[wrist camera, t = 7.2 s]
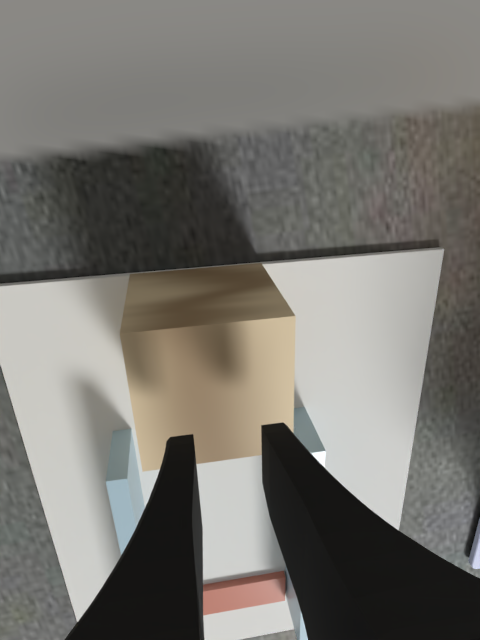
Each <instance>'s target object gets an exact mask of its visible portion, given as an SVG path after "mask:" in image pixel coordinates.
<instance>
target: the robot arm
mask: <svg viewBox="0 0 480 640" xmlns="http://www.w3.org/2000/svg"><path fill="white" fill-rule="evenodd" d="M261 443H262V484H263V488H264V493H265V498H266V502H267V507H268V511H269V516H270V519H271V522H272V526H273V529H274V532H275V534H276V537H277V540H278V543H279V546H280V549H281V552H282V555H283V558H284V561H285V564H286V567H287V570H288V573H289V576H290V579H291V582H292V585H293V588H294V590H295V593H296V596H297V600H298V603H299V606H300V610H301V613H302V617H303V621H304V625H305V629H306V633H307V637H308V640H480V578H478V577H475V576H473V575H472V574H470V573H468V572H466V571H464V570H462V569H460V568H459V567H457V566H455V565H453V564H452V563H450V562H448V561H446V560H444V559H443V558H441V557H439V556H438V555H436V554H434V553H433V552H431V551H429V550H428V549H426V548H425V547H423V546H422V545H420V544H418V543H417V542H415V541H414V540H412V539H411V538H409V537H408V536H406V535H405V534H403V533H401V532H400V531H399V530H397V529H396V528H394V527H393V526H392V525H390V524H389V523H387V522H386V521H385V520H383V519H382V518H381V517H380V516H378V515H377V514H376V513H374V512H373V511H372V510H371V509H369V508H368V507H367V506H366V505H365V504H363V503H362V502H361V501H360V500H359V499H357V498H356V497H355V496H354V495H353V494H352V493H351V492H350V491H348V490H347V489H346V488H345V487H344V486H343V485H342V484H341V483H340V482H339V481H338V480H337V479H336V478H334V477H333V476H332V475H331V474H330V473H329V472H328V471H327V470H326V469H325V467H324V466H323V465H322V464H321V463H320V462H319V461H318V460H317V459H316V458H315V457H314V456H313V455H312V454H311V453H310V452H309V451H308V450H307V448H306V447H305V446H304V445H303V444H302V443H301V442H300V440H299V439H298V438H297V437H296V436H295V435H294V433H293V432H292V431H291V430H290V429H289V427H288V426H287V425H286V424H285V423H283V422H282V423H274V424H266V425H261ZM469 563H470V565H471V566H472V568H474V569H480V519H479V523H478V526H477V530H476V534H475V538H474V541H473V545H472V549H471V553H470V557H469ZM65 640H205V639H204V621H203V527H202V517H201V507H200V496H199V486H198V475H197V465H196V455H195V445H194V436H193V434H189V435H181V436H174V437H170V438H169V439H168V440H167V441H166V448H165V453H164V457H163V461H162V464H161V467H160V470H159V474H158V477H157V479H156V482H155V484H154V487H153V490H152V492H151V495H150V498H149V500H148V502H147V505H146V507H145V509H144V511H143V513H142V516H141V518H140V520H139V522H138V524H137V527H136V529H135V531H134V533H133V535H132V537H131V539H130V540H129V542H128V544H127V546H126V548H125V550H124V551H123V553H122V555H121V557H120V559H119V560H118V562H117V564H116V566H115V567H114V569H113V570H112V572H111V574H110V575H109V577H108V578H107V580H106V582H105V583H104V585H103V586H102V588H101V590H100V591H99V593H98V594H97V596H96V597H95V599H94V600H93V602H92V603H91V604H90V606H89V607H88V609H87V610H86V611H85V613H84V614H83V615H82V617H81V618H80V620H79V621H78V622H77V624H76V625H75V626H74V628H73V629H72V630H71V632H70V633H69V635H68V636H67V637H66V639H65Z"/></svg>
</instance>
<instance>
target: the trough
mask: <svg viewBox="0 0 480 640" xmlns="http://www.w3.org/2000/svg"><path fill="white" fill-rule="evenodd" d="M293 433H294V435H295V436H296V437H297V438H298V439H299V440H300V442H301V443H302V444H303V445H304V446H305V447H306V448H307V450H308V451H309V452H310V453H311V454H312V455H313V456H314V457H315V458H316V459H317V460H318V461H319V462H320V463H321V464H322V465H323V466H324V467H325V457H326V450H325V448H324V446H323V444H322V442H321V440H320V438H319V436H318V434H317V432H316V429H315V427H314V425H313V423H312V421H311V419H310V417H309V415H308V413H307V411H306V409H305V407H300V408H294V431H293ZM106 486H107V490H108V495H109V500H110V505H111V509H112V514H113V519H114V524H115V528H116V533H117V538H118V543H119V547H120V552H121V555H122V553H123V551H124V550H125V548H126V546H127V544H128V542H129V540H130V539H131V537H132V535H133V533H134V531H135V529H136V527H137V524H138V522H139V520H140V518H141V516H142V513H143V511H144V509H145V506H144V500H143V494H142V488H141V482H140V476H139V470H138V464H137V458H136V452H135V446H134V440H133V434H132V429H125V430H117V431H113V433H112V440H111V447H110V454H109V461H108V468H107V475H106ZM285 595H286V599H287V603H288V606H289V610H290V614H291V618H292V622H293V626H294V630H295V634H296V637H297V640H308V637H307V633H306V629H305V625H304V621H303V617H302V613H301V610H300V606H299V603H298V600H297V596H296V593H295V590H294V588H293V585H292V582H291V579H290V576H289V573H288V570H287V567H286V572H285V574H284V571H280V572H274V573H268V574H262V575H256V576H251V577H245V578H239V579H233V580H227V581H222V582H216V583H210V584H204V585H203V615H209V614H214V613H220V612H225V611H231V610H236V609H242V608H247V607H253V606H259V605H264V604H270V603H275V602H281V601H285Z"/></svg>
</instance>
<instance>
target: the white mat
mask: <svg viewBox="0 0 480 640" xmlns="http://www.w3.org/2000/svg"><path fill="white" fill-rule="evenodd" d="M443 253H444V249H443V248H441V247H436V248H424V249H412V250H400V251H388V252H376V253H364V254H352V255H340V256H328V257H316V258H304V259H292V260H280V261H268V262H256V263H262V265H263V266H264V268H265V269H266V271H267V273H268V274H269V276H270V277H271V279H272V280H273V282H274V283H275V285H276V286H277V288H278V290H279V291H280V293H281V294H282V296H283V297H284V299H285V300H286V302H287V303H288V305H289V307H290V308H291V310H292V311H293V313H294V314H295V316H296V322H295V376H294V408H300V407H305V409H306V411H307V413H308V415H309V417H310V419H311V421H312V423H313V425H314V427H315V429H316V432H317V434H318V436H319V438H320V440H321V442H322V444H323V446H324V448H325V450H326V457H325V469H326V470H327V471H328V472H329V473H330V474H331V475H332V476H333V477H334V478H336V479H337V480H338V481H339V482H340V483H341V484H342V485H343V486H344V487H345V488H346V489H347V490H348V491H350V492H351V493H352V494H353V495H354V496H355V497H356V498H357V499H359V500H360V501H361V502H362V503H363V504H365V505H366V506H367V507H368V508H369V509H371V510H372V511H373V512H374V513H376V514H377V515H378V516H380V517H381V518H382V519H383V520H385V521H386V522H387V523H389V524H390V525H392V526H393V527H394V528H396V529H397V530H399V526H400V519H401V513H402V507H403V501H404V495H405V488H406V482H407V476H408V470H409V464H410V458H411V451H412V445H413V439H414V433H415V427H416V420H417V414H418V408H419V402H420V396H421V389H422V383H423V377H424V371H425V365H426V358H427V352H428V346H429V340H430V334H431V328H432V321H433V315H434V309H435V303H436V297H437V290H438V284H439V278H440V272H441V266H442V259H443ZM244 264H255V263H244ZM232 265H243V264H232ZM232 265H220V266H232ZM220 266H208V267H220ZM208 267H196V268H208ZM196 268H183V269H171V270H159V271H147V272H135V273H123V274H111V275H99V276H87V277H75V278H63V279H51V280H39V281H27V282H15V283H3V284H0V365H1V368H2V371H3V375H4V378H5V382H6V385H7V388H8V392H9V395H10V398H11V402H12V405H13V408H14V412H15V415H16V418H17V422H18V425H19V428H20V432H21V435H22V439H23V442H24V445H25V449H26V452H27V455H28V459H29V462H30V465H31V469H32V472H33V475H34V479H35V482H36V485H37V489H38V492H39V496H40V499H41V502H42V506H43V509H44V512H45V516H46V519H47V522H48V526H49V529H50V532H51V536H52V539H53V542H54V546H55V549H56V553H57V556H58V559H59V563H60V566H61V569H62V573H63V576H64V579H65V583H66V586H67V589H68V593H69V596H70V600H71V603H72V606H73V610H74V613H75V616H76V620H77V622H78V621H79V620H80V618H81V617H82V615H83V614H84V613H85V611H86V610H87V609H88V607H89V606H90V604H91V603H92V602H93V600H94V599H95V597H96V596H97V594H98V593H99V591H100V590H101V588H102V586H103V585H104V583H105V582H106V580H107V578H108V577H109V575H110V574H111V572H112V570H113V569H114V567H115V566H116V564H117V562H118V560H119V559H120V557H121V552H120V547H119V543H118V538H117V533H116V528H115V524H114V519H113V514H112V509H111V505H110V500H109V495H108V490H107V486H106V475H107V468H108V461H109V454H110V447H111V440H112V433H113V431H117V430H125V429H132V434H133V440H134V446H135V452H136V458H137V464H138V470H139V476H140V482H141V488H142V494H143V500H144V506H145V507H146V505H147V502H148V500H149V498H150V495H151V492H152V490H153V487H154V484H155V482H156V479H157V477H158V474H159V470H160V469H158V470H151V471H144V472H142V466H141V460H140V454H139V448H138V442H137V436H136V430H135V423H134V417H133V411H132V405H131V399H130V393H129V387H128V381H127V375H126V369H125V363H124V357H123V351H122V345H121V339H120V329H121V323H122V317H123V311H124V305H125V300H126V294H127V288H128V282H129V276H130V274H137V273H149V272H161V271H173V270H184V269H196ZM196 465H197V475H198V486H199V496H200V507H201V517H202V527H203V585H204V584H210V583H216V582H222V581H227V580H233V579H239V578H245V577H251V576H256V575H262V574H268V573H274V572H280V571H284V574H285V572H286V564H285V561H284V558H283V555H282V552H281V549H280V546H279V543H278V540H277V537H276V534H275V532H274V529H273V526H272V522H271V519H270V516H269V511H268V507H267V502H266V498H265V493H264V488H263V484H262V455H259V456H251V457H244V458H237V459H230V460H223V461H215V462H208V463H201V464H196ZM203 621H204V639H205V640H239V639H244V638H250V637H255V636H260V635H266V634H271V633H276V632H281V631H287V630H292V629H294V626H293V622H292V618H291V614H290V610H289V606H288V603H287V599H286V595H285V601H281V602H275V603H270V604H264V605H259V606H253V607H247V608H242V609H236V610H231V611H225V612H220V613H214V614H209V615H203Z"/></svg>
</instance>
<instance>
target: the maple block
mask: <svg viewBox="0 0 480 640" xmlns="http://www.w3.org/2000/svg"><path fill="white" fill-rule="evenodd" d="M295 322H296V316H295V314H294V313H293V311H292V310H291V308H290V307H289V305H288V303H287V302H286V300H285V299H284V297H283V296H282V294H281V293H280V291H279V290H278V288H277V286H276V285H275V283H274V282H273V280H272V279H271V277H270V276H269V274H268V273H267V271H266V269H265V268H264V266H263V265H262V263H255V264H243V265H232V266H220V267H208V268H196V269H184V270H173V271H161V272H149V273H137V274H130V276H129V282H128V288H127V294H126V300H125V305H124V311H123V317H122V323H121V329H120V339H121V345H122V351H123V357H124V363H125V369H126V375H127V381H128V387H129V393H130V399H131V405H132V411H133V417H134V423H135V430H136V436H137V442H138V448H139V454H140V460H141V466H142V472H144V471H151V470H158V469H160V467H161V464H162V461H163V457H164V453H165V448H166V441H167V440H168V439H169V438H170V437H174V436H181V435H189V434H193V436H194V445H195V455H196V464H201V463H208V462H215V461H223V460H230V459H237V458H244V457H251V456H259V455H262V443H261V425H266V424H274V423H282V422H283V423H285V424H286V425H287V426H288V427H289V429H290V430H291V431H292V432H293V431H294V376H295Z"/></svg>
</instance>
